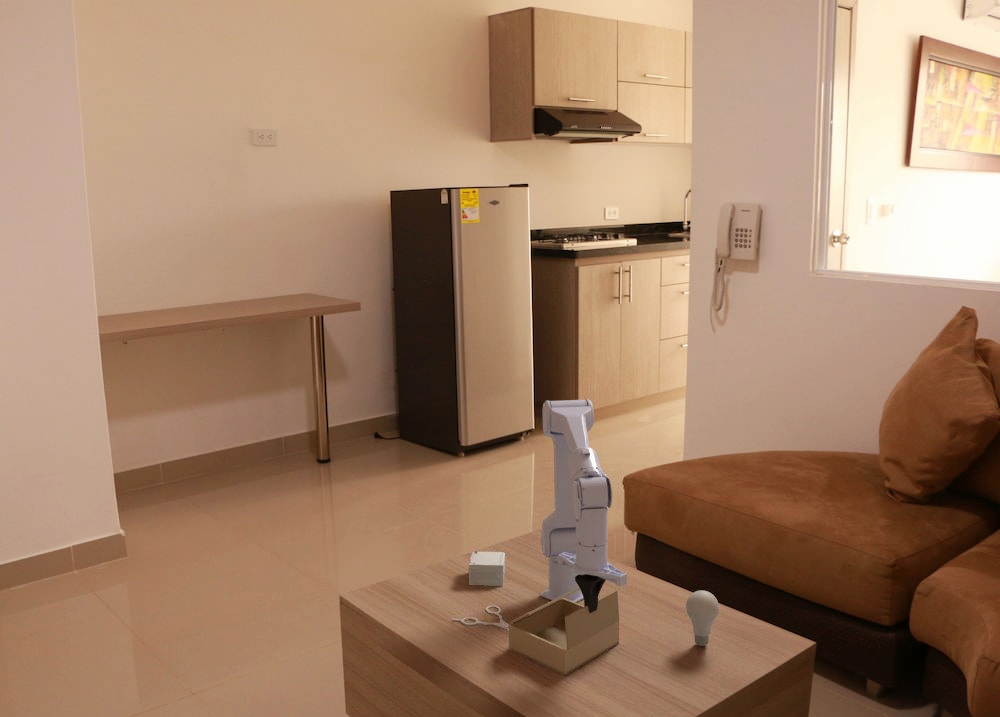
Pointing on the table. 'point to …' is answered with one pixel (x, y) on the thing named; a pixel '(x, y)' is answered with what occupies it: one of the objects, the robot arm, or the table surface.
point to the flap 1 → (545, 605)
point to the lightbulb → (702, 614)
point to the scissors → (501, 624)
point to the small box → (487, 568)
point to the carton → (557, 639)
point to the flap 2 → (591, 620)
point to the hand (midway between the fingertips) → (591, 610)
